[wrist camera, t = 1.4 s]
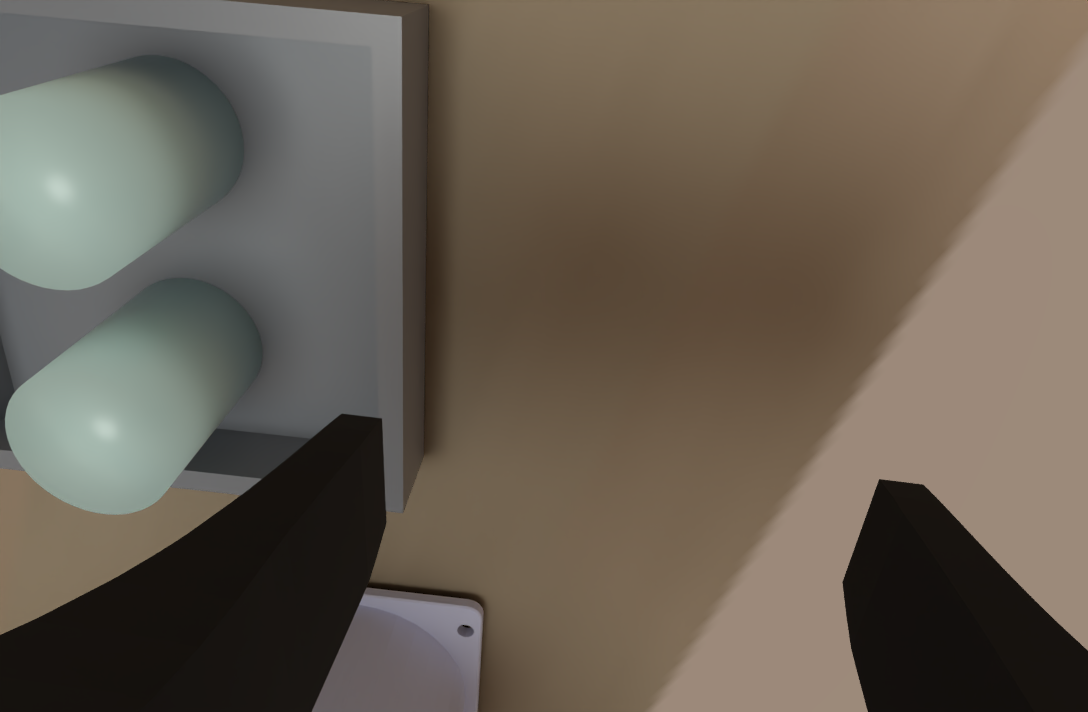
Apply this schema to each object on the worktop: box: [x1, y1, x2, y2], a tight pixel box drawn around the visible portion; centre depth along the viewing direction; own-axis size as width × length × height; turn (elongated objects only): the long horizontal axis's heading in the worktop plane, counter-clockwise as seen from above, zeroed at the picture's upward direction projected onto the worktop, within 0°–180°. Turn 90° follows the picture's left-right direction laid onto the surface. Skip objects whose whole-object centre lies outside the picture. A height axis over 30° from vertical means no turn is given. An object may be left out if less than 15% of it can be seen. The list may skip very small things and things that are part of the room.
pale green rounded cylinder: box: [5, 278, 263, 515], centre depth 20 cm, size 4×4×5 cm
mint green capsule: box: [0, 55, 244, 290], centre depth 17 cm, size 4×4×5 cm
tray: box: [0, 0, 429, 513], centre depth 20 cm, size 12×12×3 cm
